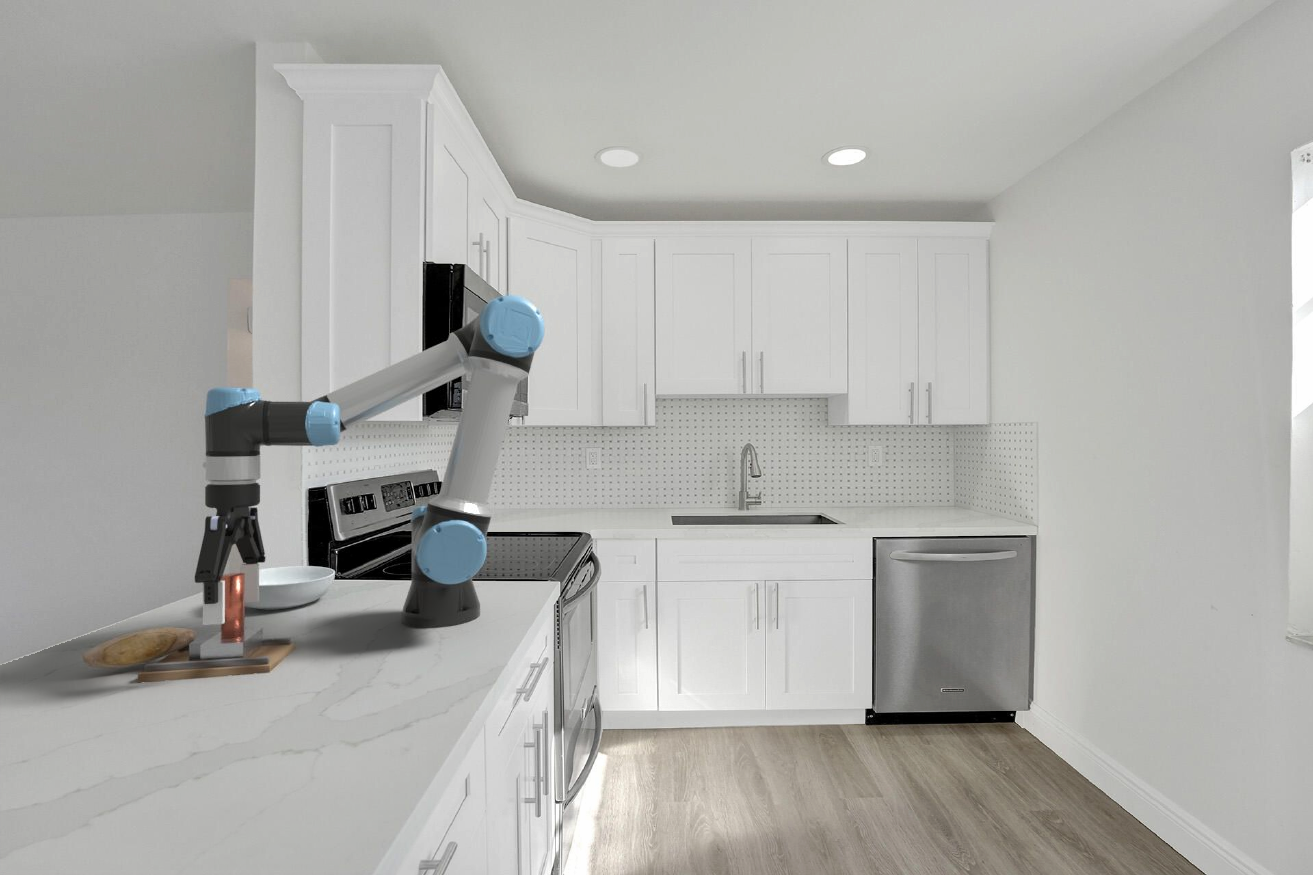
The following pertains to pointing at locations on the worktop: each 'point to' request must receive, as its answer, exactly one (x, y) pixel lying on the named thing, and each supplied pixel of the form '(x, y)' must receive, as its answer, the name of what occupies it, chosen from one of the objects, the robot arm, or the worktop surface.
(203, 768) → the worktop surface
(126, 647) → the tan elongated oval piece
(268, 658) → the railed wooden base plate
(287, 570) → the serving bowl
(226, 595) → the copper peg on base
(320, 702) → the worktop surface
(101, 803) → the worktop surface
